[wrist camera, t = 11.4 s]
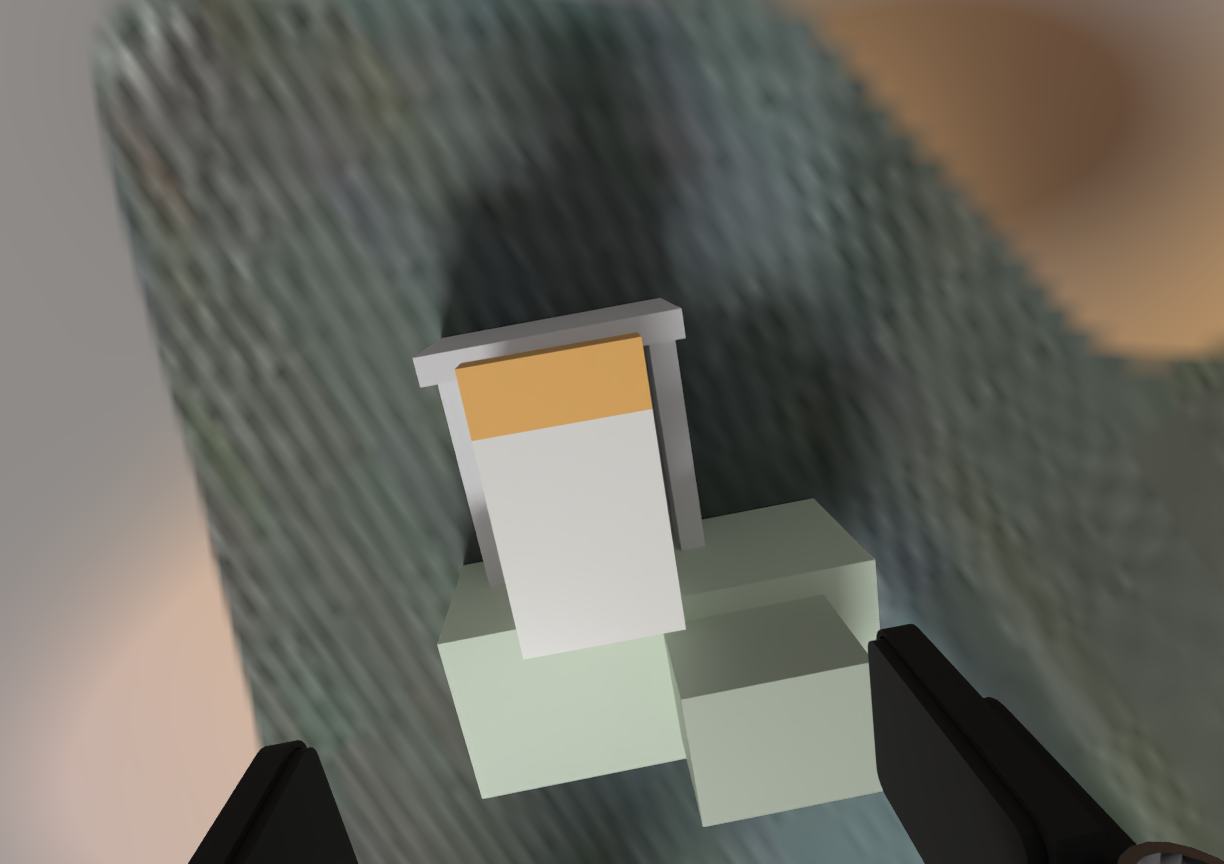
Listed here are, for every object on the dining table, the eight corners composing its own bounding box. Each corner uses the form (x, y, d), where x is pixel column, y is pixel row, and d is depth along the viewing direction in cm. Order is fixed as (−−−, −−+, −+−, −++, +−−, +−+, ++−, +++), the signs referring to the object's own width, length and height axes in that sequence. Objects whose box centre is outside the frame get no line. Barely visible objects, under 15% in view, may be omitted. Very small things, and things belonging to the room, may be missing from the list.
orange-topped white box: (616, 307, 26) (641, 336, 17) (648, 513, 28) (686, 629, 20) (491, 329, 26) (454, 369, 17) (536, 533, 28) (523, 659, 19)
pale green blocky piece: (792, 273, 26) (924, 286, 17) (825, 631, 31) (943, 803, 21) (404, 345, 26) (308, 400, 16) (497, 695, 31) (467, 899, 21)
